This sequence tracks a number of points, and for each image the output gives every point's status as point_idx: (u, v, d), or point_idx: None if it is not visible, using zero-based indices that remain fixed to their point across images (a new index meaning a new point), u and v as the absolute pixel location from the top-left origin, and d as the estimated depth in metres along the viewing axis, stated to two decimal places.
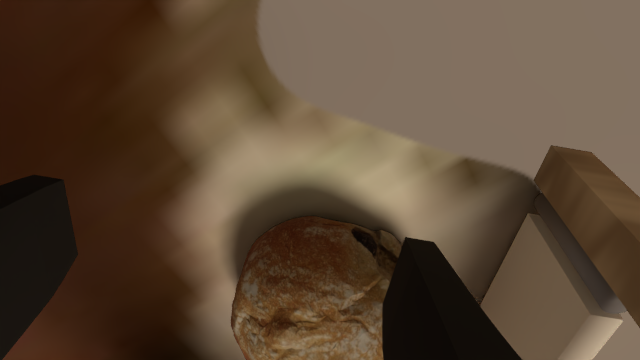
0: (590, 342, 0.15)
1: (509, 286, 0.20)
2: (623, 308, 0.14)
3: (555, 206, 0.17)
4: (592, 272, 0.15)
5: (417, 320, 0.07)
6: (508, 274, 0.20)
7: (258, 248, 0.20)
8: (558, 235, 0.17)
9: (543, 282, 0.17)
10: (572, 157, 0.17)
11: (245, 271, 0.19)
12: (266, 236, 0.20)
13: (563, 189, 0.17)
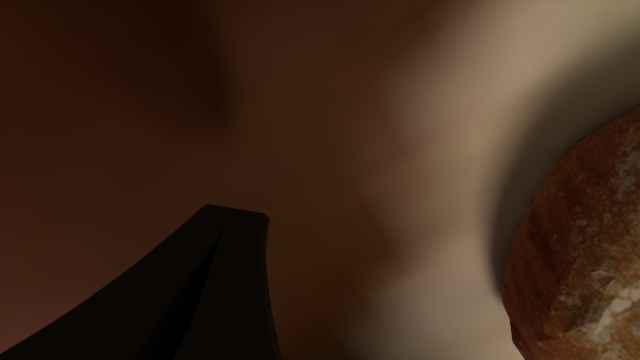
0: None
1: None
2: None
3: None
4: None
5: None
6: None
7: None
8: None
9: None
10: None
11: (636, 191, 0.08)
12: None
13: None
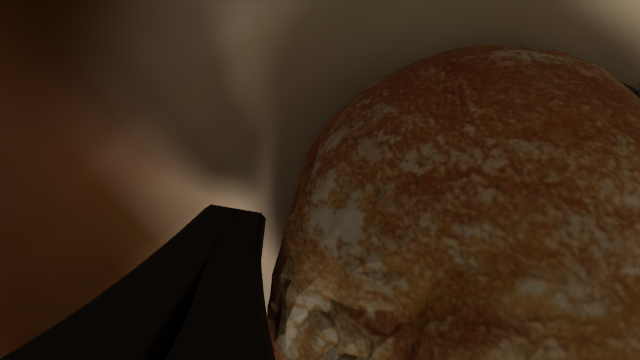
0: None
1: None
2: None
3: None
4: None
5: None
6: None
7: (346, 121, 0.07)
8: None
9: None
10: None
11: (315, 179, 0.07)
12: (367, 93, 0.08)
13: None
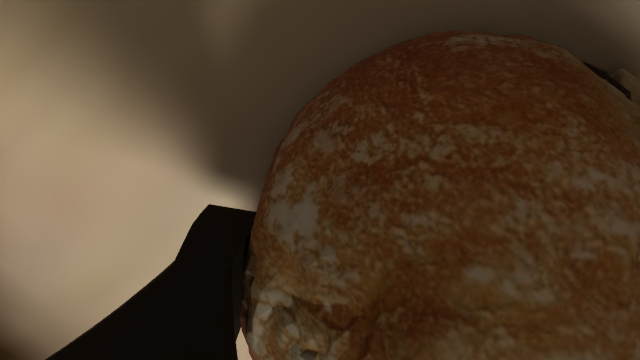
0: None
1: None
2: None
3: None
4: None
5: None
6: None
7: (307, 114, 0.07)
8: None
9: None
10: None
11: (275, 174, 0.07)
12: (328, 85, 0.07)
13: None
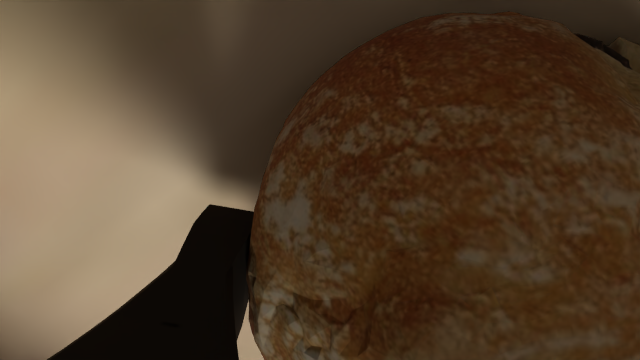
0: None
1: None
2: None
3: None
4: None
5: None
6: None
7: (297, 110, 0.07)
8: None
9: None
10: None
11: (269, 173, 0.07)
12: None
13: None
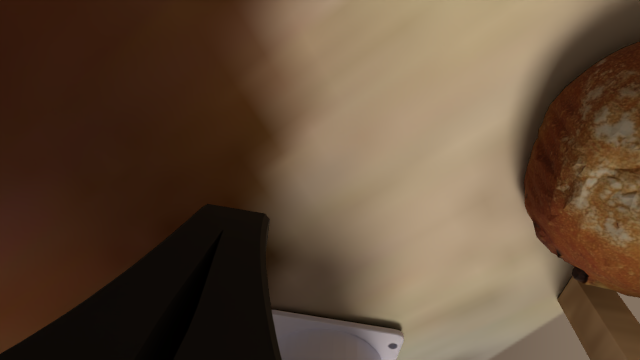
0: None
1: None
2: None
3: None
4: None
5: None
6: None
7: (598, 82, 0.14)
8: None
9: None
10: None
11: (592, 113, 0.14)
12: (603, 67, 0.14)
13: None
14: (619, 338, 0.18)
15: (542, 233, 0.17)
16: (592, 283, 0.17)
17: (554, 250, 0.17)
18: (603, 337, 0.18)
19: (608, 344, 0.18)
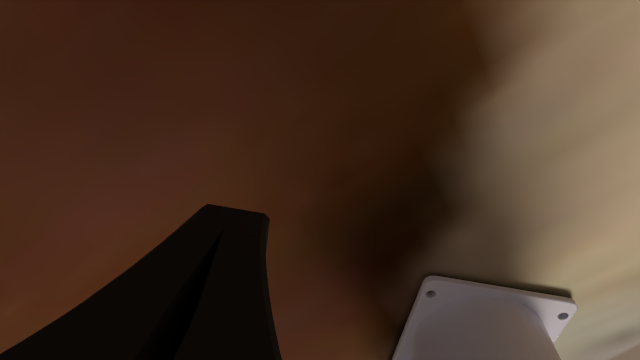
0: None
1: None
2: None
3: None
4: None
5: None
6: None
7: None
8: None
9: None
10: None
11: None
12: None
13: None
14: None
15: None
16: None
17: None
18: None
19: None
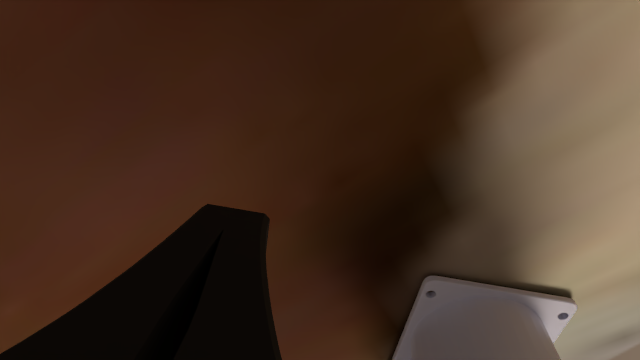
0: None
1: None
2: None
3: None
4: None
5: None
6: None
7: None
8: None
9: None
10: None
11: None
12: None
13: None
14: None
15: None
16: None
17: None
18: None
19: None
